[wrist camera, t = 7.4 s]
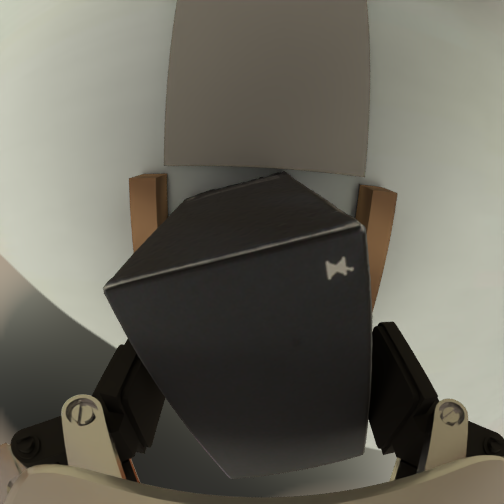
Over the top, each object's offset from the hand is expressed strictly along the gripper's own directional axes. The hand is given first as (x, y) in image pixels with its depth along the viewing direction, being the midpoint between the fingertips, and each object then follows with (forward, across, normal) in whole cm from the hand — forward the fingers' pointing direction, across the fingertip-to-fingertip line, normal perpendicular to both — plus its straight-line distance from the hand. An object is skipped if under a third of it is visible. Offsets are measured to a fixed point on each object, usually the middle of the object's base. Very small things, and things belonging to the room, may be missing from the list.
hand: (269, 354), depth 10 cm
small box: (+8, 0, 0) cm, 8 cm away
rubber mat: (+8, 0, -12) cm, 15 cm away
